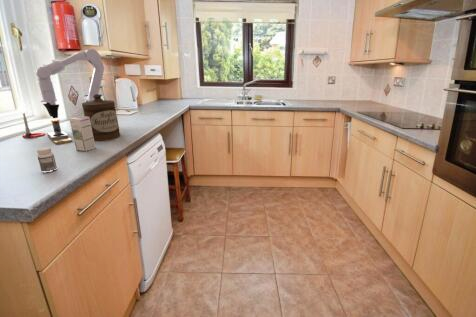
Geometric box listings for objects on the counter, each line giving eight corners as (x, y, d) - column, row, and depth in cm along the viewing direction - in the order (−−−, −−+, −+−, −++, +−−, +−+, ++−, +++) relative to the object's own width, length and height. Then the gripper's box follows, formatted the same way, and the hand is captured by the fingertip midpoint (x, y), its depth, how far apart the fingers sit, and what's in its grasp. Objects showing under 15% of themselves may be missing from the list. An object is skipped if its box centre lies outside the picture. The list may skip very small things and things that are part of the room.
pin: (61, 132, 154) (58, 119, 152) (63, 133, 152) (60, 120, 149) (53, 133, 152) (49, 120, 149) (54, 135, 149) (51, 121, 146)
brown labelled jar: (98, 143, 133) (89, 96, 126) (83, 138, 141) (74, 94, 134) (125, 136, 144) (119, 93, 137) (110, 132, 152) (103, 92, 145)
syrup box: (96, 148, 125) (90, 116, 120) (85, 152, 120) (78, 118, 115) (86, 147, 127) (80, 115, 122) (75, 150, 122) (68, 118, 117)
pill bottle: (46, 168, 101) (40, 146, 98) (59, 168, 102) (54, 146, 99) (38, 173, 97) (32, 151, 94) (52, 173, 97) (47, 150, 94)
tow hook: (35, 134, 153) (20, 138, 145) (30, 111, 150) (15, 113, 141) (49, 135, 152) (35, 138, 143) (44, 111, 148) (29, 113, 140)
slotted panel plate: (63, 135, 149) (62, 130, 148) (72, 141, 136) (71, 137, 135) (48, 137, 145) (47, 132, 144) (55, 144, 131) (54, 139, 131)
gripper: (36, 91, 146) (42, 116, 151) (40, 92, 136) (47, 120, 141) (51, 89, 151) (57, 114, 155) (57, 91, 141) (63, 118, 145)
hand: (54, 117), depth 148 cm, fingers open, 7 cm apart
